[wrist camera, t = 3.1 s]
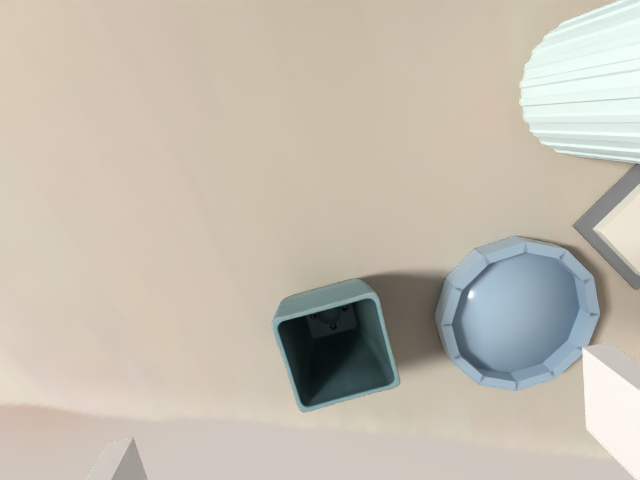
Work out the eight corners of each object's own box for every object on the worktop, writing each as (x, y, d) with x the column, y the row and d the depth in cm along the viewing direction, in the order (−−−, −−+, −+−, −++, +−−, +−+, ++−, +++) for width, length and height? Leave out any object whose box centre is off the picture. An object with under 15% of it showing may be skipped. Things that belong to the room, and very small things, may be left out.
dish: (405, 317, 45) (411, 327, 43) (516, 206, 43) (528, 210, 41) (505, 402, 48) (514, 415, 46) (613, 303, 46) (628, 311, 44)
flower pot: (361, 257, 44) (377, 290, 35) (382, 337, 46) (402, 387, 37) (274, 281, 44) (269, 320, 35) (299, 359, 46) (299, 414, 37)
